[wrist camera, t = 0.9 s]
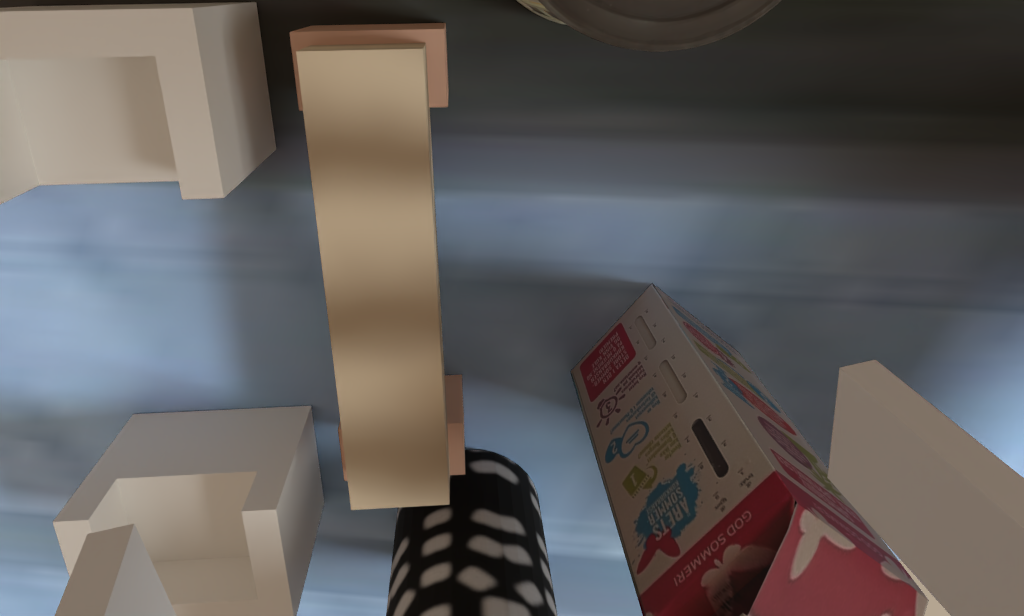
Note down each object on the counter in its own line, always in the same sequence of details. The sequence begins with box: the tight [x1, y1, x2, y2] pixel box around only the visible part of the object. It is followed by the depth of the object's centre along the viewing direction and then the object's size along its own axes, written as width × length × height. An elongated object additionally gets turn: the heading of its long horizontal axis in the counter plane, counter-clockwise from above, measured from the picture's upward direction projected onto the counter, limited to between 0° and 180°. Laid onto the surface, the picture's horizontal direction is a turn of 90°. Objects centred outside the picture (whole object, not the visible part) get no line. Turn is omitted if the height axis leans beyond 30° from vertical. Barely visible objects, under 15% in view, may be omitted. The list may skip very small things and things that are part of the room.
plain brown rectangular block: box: [290, 23, 465, 481], centre depth 36 cm, size 21×6×5 cm, turn 1°
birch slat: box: [296, 43, 450, 510], centre depth 33 cm, size 20×4×3 cm, turn 1°
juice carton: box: [571, 284, 929, 616], centre depth 32 cm, size 7×7×22 cm
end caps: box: [0, 2, 324, 616], centre depth 35 cm, size 27×10×9 cm, turn 1°
